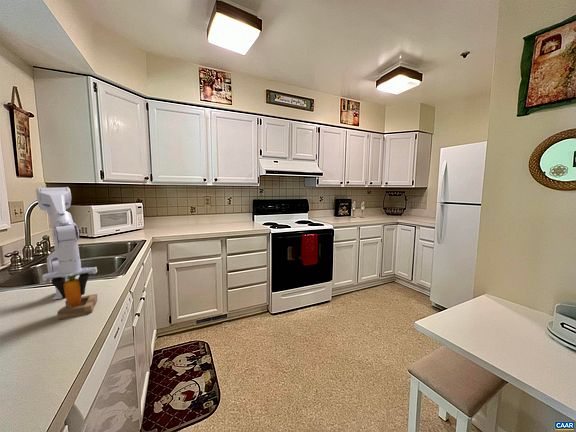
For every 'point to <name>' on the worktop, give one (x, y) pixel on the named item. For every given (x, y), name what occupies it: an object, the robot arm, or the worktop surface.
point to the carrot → (72, 291)
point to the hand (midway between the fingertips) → (74, 295)
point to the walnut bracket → (79, 307)
